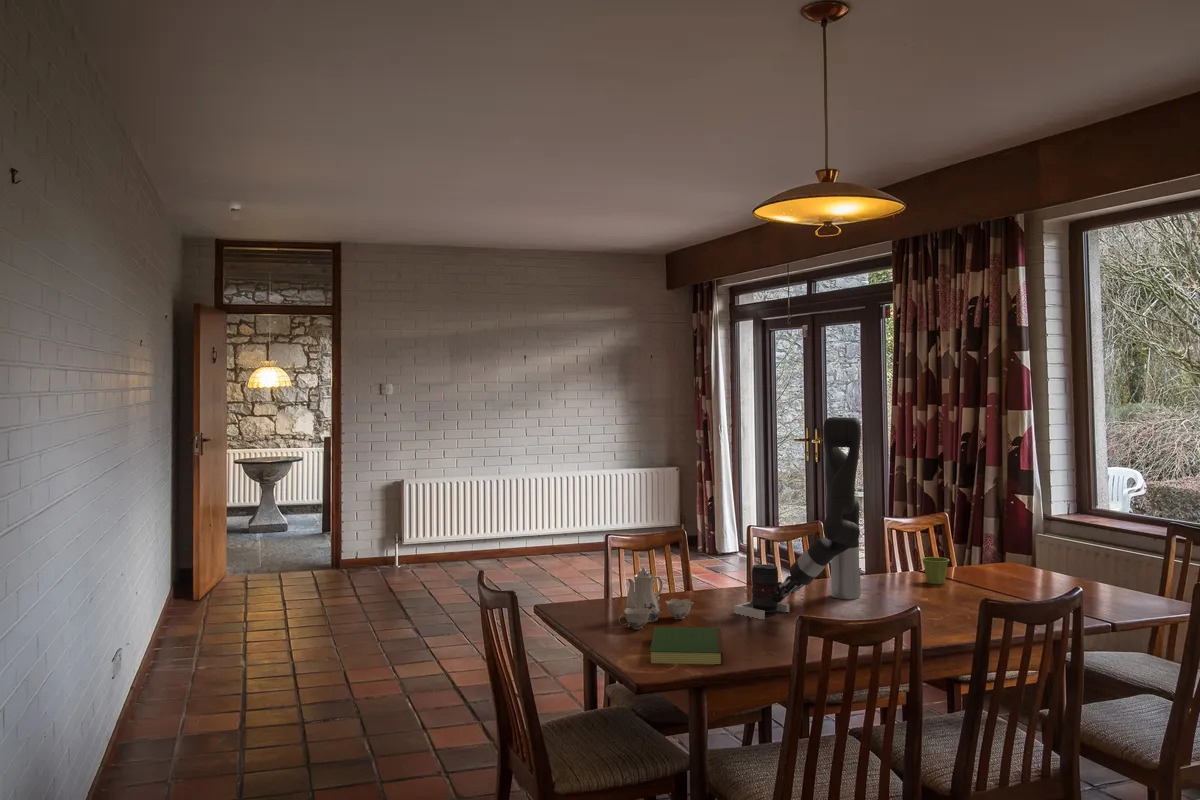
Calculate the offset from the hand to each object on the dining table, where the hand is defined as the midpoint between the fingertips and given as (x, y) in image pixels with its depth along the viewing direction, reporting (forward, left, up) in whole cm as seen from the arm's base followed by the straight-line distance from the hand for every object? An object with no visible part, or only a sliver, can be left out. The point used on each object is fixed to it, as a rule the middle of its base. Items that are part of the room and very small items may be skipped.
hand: (776, 600), depth 289 cm
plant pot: (-80, +10, -5) cm, 81 cm away
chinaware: (+32, -23, -5) cm, 40 cm away
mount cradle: (0, -6, -5) cm, 8 cm away
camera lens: (0, -4, -5) cm, 7 cm away
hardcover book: (+48, +7, -6) cm, 49 cm away
